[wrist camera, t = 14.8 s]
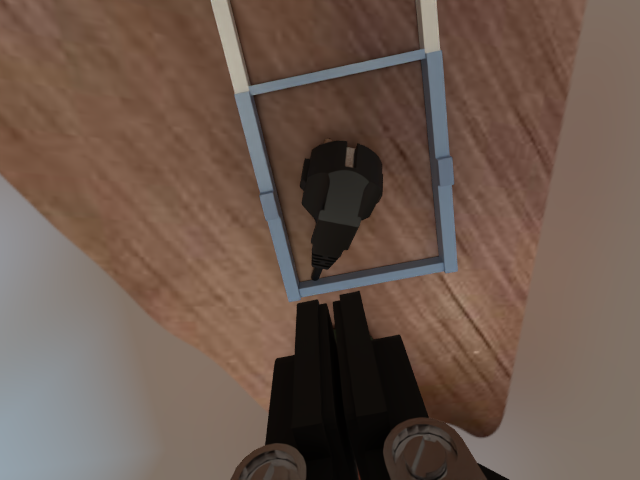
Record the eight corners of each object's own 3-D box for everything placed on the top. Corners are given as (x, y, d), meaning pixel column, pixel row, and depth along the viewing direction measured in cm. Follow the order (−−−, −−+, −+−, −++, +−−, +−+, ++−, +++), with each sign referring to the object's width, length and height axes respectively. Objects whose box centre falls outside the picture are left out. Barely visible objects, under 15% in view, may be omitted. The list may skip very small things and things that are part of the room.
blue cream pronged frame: (169, -172, 23) (155, -196, 21) (412, -234, 22) (422, -264, 20) (289, 292, 35) (288, 305, 33) (451, 262, 34) (460, 274, 32)
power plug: (280, 280, 33) (301, 190, 23) (293, 208, 37) (314, 105, 27) (346, 291, 34) (394, 208, 24) (351, 219, 38) (394, 122, 28)
